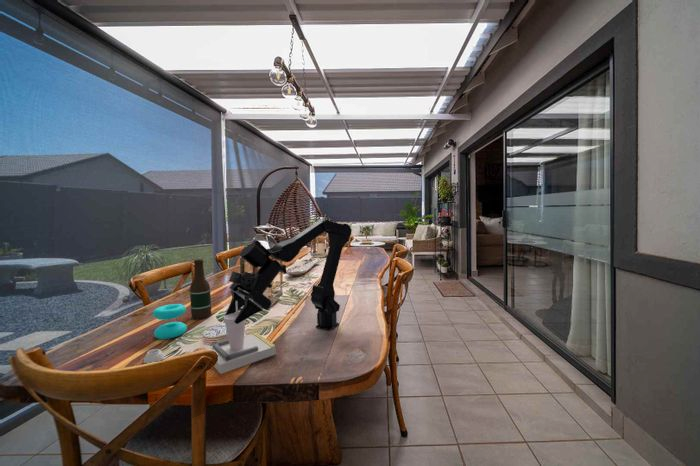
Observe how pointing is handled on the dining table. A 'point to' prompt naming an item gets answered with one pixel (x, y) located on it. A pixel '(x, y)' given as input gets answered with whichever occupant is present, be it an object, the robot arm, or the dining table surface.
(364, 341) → the dining table surface
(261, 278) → the robot arm
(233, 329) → the smoothie
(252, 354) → the dock
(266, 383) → the dining table surface
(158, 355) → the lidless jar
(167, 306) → the donuts
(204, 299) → the beer bottle
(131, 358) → the dining table surface
